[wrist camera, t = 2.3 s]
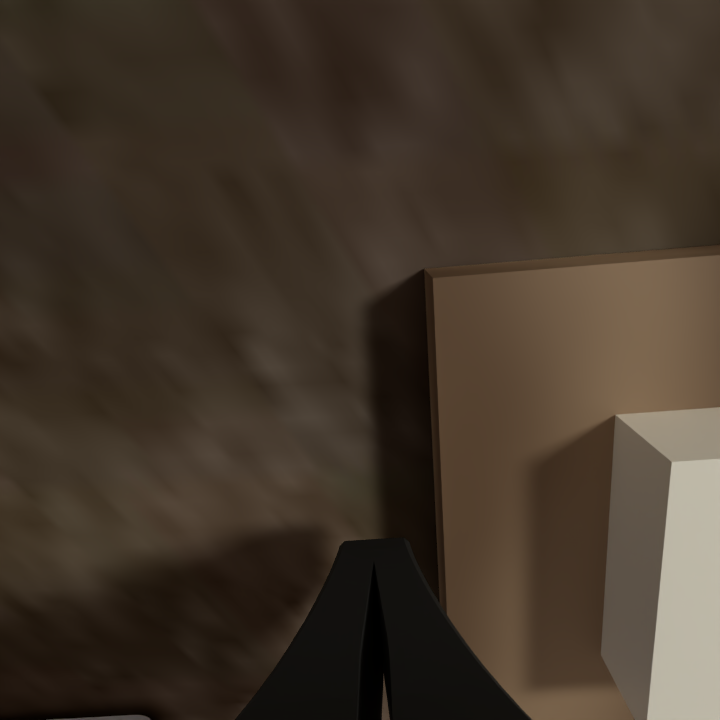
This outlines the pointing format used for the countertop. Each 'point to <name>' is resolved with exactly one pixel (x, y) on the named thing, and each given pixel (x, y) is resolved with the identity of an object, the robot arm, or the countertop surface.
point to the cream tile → (665, 565)
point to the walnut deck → (552, 446)
